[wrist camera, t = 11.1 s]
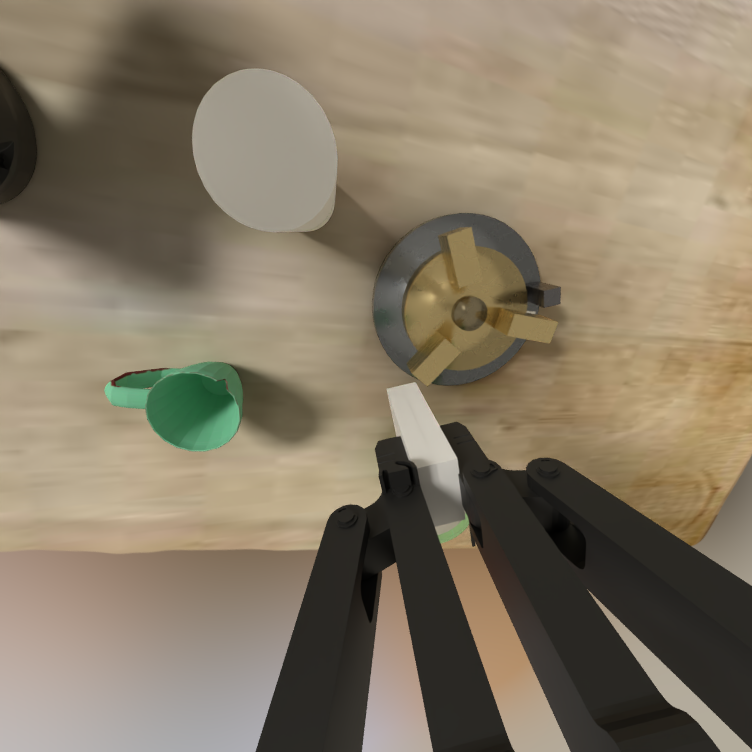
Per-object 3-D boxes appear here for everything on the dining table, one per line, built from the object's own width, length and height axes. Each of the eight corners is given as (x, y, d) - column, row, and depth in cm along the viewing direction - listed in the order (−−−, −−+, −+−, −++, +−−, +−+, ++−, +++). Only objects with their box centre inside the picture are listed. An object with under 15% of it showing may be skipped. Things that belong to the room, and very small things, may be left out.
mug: (262, 351, 47) (245, 380, 38) (253, 416, 51) (236, 457, 41) (141, 329, 45) (92, 354, 35) (141, 399, 48) (95, 439, 39)
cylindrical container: (282, 151, 39) (209, 36, 16) (343, 179, 41) (357, 111, 18) (264, 217, 41) (179, 199, 18) (323, 241, 43) (313, 252, 20)
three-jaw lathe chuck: (388, 363, 47) (395, 382, 41) (420, 220, 41) (435, 218, 35) (504, 381, 50) (527, 401, 44) (550, 250, 44) (584, 253, 38)
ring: (355, 234, 43) (359, 235, 37) (530, 196, 44) (564, 190, 37) (388, 394, 52) (396, 417, 45) (534, 361, 52) (562, 379, 46)
